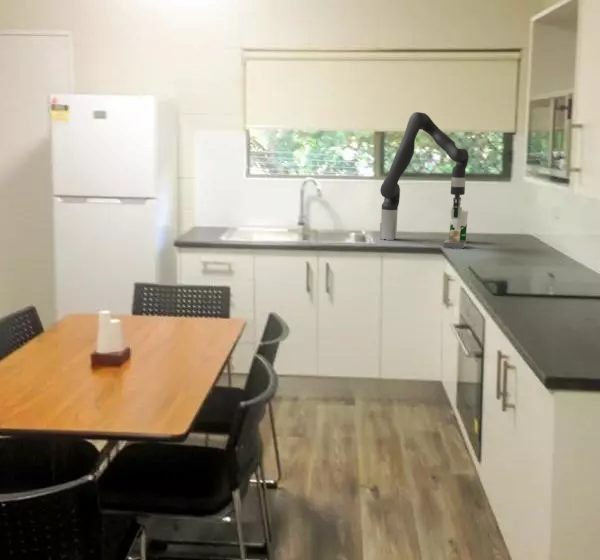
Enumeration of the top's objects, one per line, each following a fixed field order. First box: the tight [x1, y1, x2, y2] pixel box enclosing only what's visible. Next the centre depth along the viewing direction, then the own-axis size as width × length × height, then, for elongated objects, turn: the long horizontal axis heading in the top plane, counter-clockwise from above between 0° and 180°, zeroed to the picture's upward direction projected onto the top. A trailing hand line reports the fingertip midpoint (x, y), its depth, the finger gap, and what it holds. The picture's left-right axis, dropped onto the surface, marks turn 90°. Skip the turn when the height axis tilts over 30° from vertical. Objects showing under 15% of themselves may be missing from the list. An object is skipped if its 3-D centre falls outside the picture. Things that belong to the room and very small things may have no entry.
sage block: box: [451, 206, 463, 219], centre depth 460 cm, size 5×5×6 cm
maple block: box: [449, 230, 460, 242], centre depth 463 cm, size 5×5×6 cm
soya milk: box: [448, 205, 469, 242], centre depth 481 cm, size 9×9×20 cm
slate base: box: [443, 239, 467, 249], centre depth 464 cm, size 11×11×3 cm
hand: (456, 216), depth 461 cm, fingers closed on sage block, 5 cm apart
